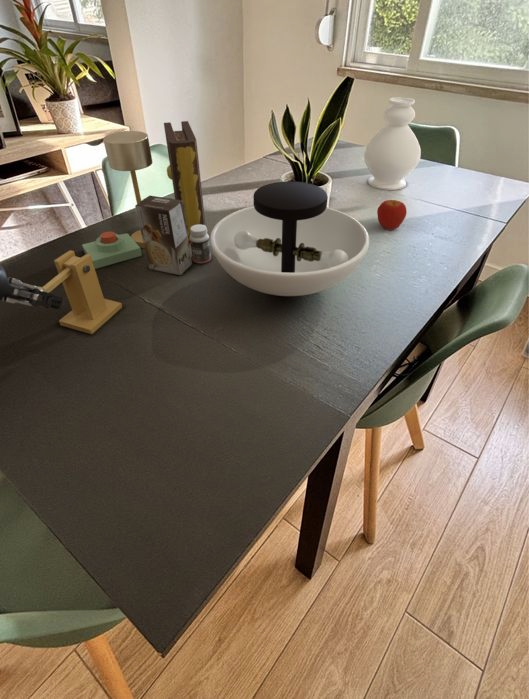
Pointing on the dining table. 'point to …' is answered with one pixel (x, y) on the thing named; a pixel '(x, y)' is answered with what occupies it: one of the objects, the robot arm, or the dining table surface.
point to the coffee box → (164, 234)
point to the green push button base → (112, 250)
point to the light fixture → (289, 241)
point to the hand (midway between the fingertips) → (50, 300)
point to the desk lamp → (129, 160)
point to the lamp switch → (59, 277)
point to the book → (185, 172)
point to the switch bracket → (85, 296)
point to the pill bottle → (200, 244)
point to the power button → (108, 237)
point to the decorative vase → (393, 147)
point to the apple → (391, 214)
